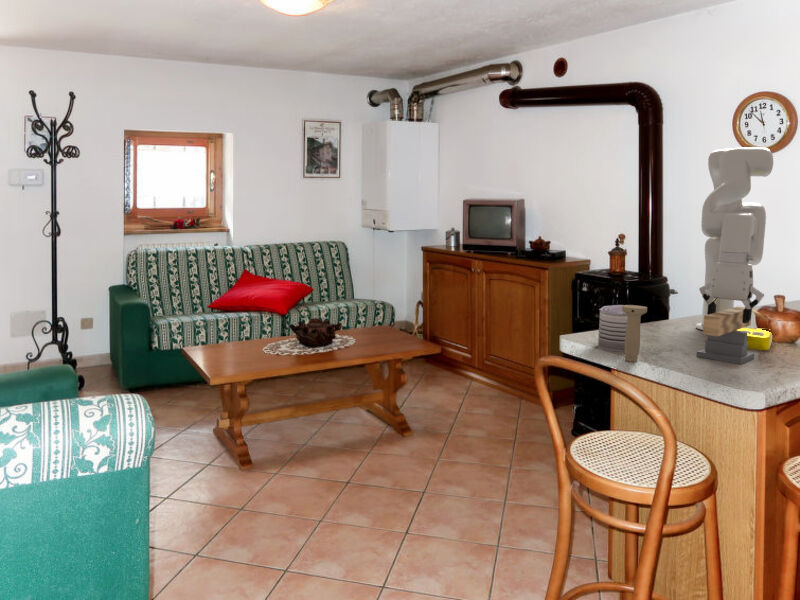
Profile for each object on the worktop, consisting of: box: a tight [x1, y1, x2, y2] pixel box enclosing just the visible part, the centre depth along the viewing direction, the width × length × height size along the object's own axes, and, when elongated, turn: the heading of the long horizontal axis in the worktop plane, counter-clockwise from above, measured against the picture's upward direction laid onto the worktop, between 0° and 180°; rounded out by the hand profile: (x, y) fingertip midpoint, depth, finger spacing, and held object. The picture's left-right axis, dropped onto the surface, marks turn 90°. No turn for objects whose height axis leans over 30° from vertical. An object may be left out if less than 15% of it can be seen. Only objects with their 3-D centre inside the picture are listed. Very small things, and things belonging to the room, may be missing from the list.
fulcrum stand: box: [696, 330, 755, 365], centre depth 200 cm, size 10×12×8 cm
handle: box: [622, 304, 648, 363], centre depth 194 cm, size 5×6×15 cm
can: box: [597, 304, 628, 353], centre depth 211 cm, size 11×11×12 cm
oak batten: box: [702, 306, 753, 336], centre depth 199 cm, size 24×4×5 cm, turn 135°
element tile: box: [738, 326, 773, 351], centre depth 220 cm, size 15×15×5 cm
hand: (728, 320), depth 199 cm, fingers open, 8 cm apart
